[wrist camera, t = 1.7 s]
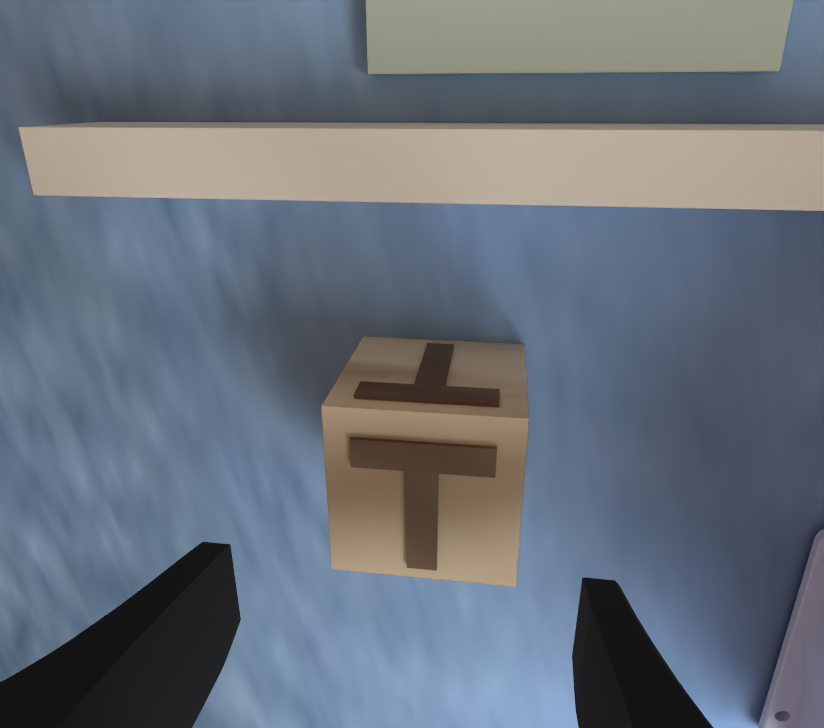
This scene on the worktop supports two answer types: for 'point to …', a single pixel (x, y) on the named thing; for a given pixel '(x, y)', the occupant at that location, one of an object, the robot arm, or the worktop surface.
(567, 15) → the pad
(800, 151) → the cream board
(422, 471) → the lettered cube
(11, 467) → the worktop surface
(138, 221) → the worktop surface
